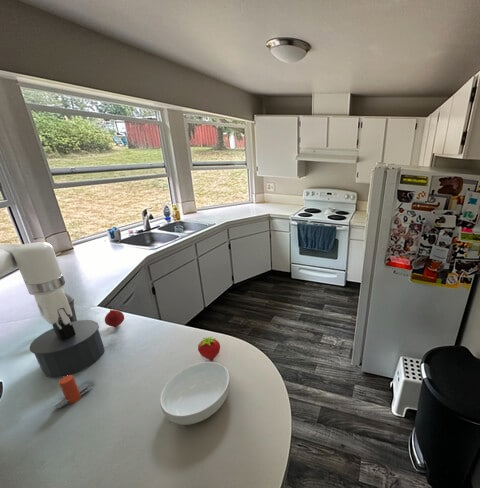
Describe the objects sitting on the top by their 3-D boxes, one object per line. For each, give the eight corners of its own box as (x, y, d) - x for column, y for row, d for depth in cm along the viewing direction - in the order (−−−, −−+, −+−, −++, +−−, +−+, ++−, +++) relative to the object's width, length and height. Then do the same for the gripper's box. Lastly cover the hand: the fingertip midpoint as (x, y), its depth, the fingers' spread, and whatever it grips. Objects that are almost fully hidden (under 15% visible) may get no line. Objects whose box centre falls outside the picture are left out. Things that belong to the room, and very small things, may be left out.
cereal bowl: (199, 447, 60) (194, 426, 57) (149, 421, 65) (143, 401, 63) (243, 388, 75) (242, 370, 72) (200, 371, 80) (197, 354, 78)
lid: (41, 364, 70) (33, 346, 68) (23, 343, 77) (15, 327, 75) (108, 332, 83) (103, 317, 81) (87, 317, 90) (82, 302, 88)
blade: (58, 413, 66) (48, 393, 63) (53, 407, 68) (43, 387, 65) (94, 391, 72) (86, 372, 70) (88, 386, 74) (81, 367, 71)
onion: (124, 319, 103) (120, 303, 100) (127, 326, 99) (122, 309, 96) (106, 326, 99) (101, 308, 96) (108, 333, 95) (102, 315, 92)
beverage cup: (80, 320, 101) (64, 276, 95) (85, 328, 97) (69, 282, 91) (54, 330, 96) (36, 284, 89) (59, 338, 92) (40, 290, 85)
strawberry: (213, 369, 81) (210, 345, 78) (195, 363, 83) (191, 338, 80) (226, 356, 86) (223, 333, 83) (208, 350, 89) (205, 327, 85)
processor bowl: (53, 385, 74) (42, 360, 70) (36, 365, 80) (25, 341, 77) (112, 354, 86) (105, 331, 82) (93, 338, 92) (85, 316, 89)
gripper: (18, 281, 74) (40, 332, 80) (38, 298, 67) (60, 352, 73) (53, 272, 80) (71, 319, 86) (75, 286, 73) (92, 337, 79)
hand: (65, 334), depth 79 cm, fingers closed on lid, 3 cm apart
